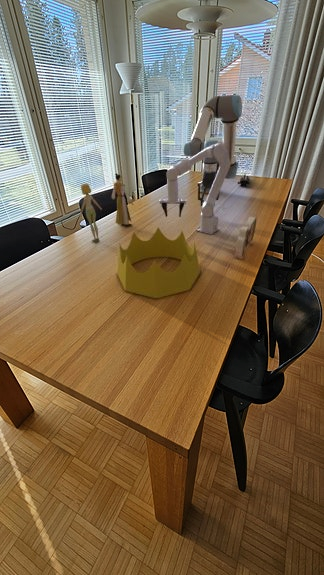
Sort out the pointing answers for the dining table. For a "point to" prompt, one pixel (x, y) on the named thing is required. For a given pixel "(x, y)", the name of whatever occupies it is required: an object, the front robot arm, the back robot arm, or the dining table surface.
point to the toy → (244, 181)
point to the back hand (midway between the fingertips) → (207, 211)
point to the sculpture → (90, 209)
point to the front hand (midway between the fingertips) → (173, 216)
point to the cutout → (245, 236)
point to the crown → (155, 278)
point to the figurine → (121, 203)
